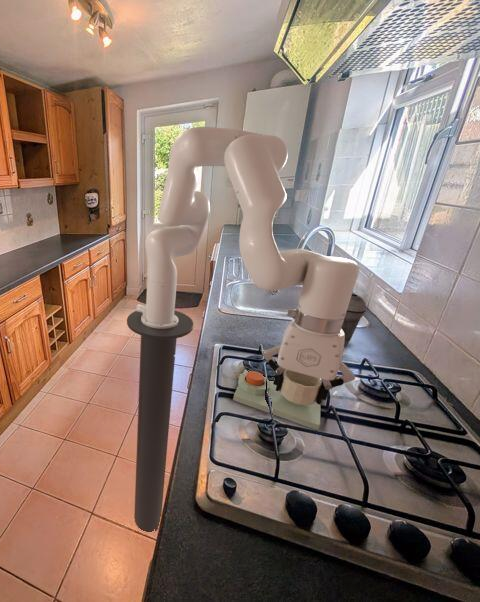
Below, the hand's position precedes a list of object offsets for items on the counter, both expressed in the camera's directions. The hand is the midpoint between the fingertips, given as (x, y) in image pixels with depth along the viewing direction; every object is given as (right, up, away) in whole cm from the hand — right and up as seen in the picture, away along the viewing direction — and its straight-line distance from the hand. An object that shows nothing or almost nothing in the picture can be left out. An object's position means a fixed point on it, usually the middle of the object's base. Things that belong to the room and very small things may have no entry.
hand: (297, 393), depth 66 cm
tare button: (-7, +1, +5) cm, 9 cm away
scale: (-3, -2, +3) cm, 5 cm away
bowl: (0, -1, 0) cm, 1 cm away
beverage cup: (+29, +7, +25) cm, 39 cm away
